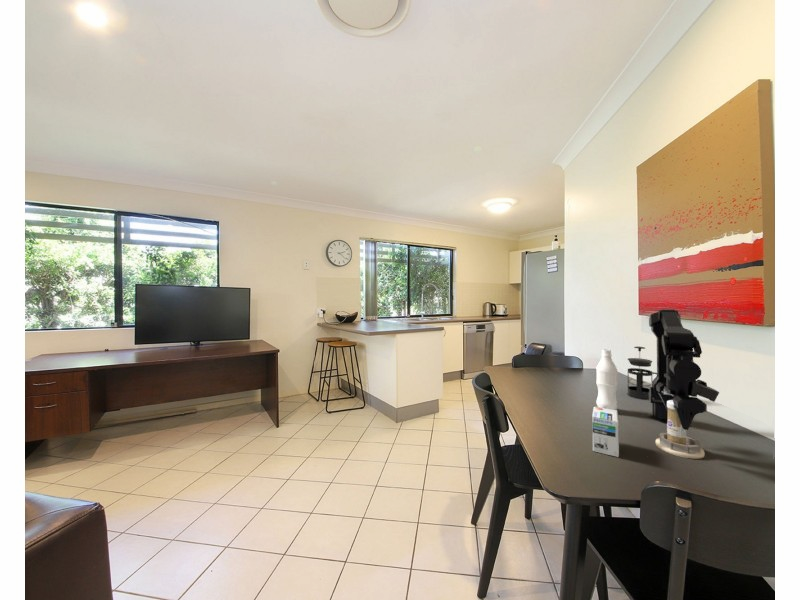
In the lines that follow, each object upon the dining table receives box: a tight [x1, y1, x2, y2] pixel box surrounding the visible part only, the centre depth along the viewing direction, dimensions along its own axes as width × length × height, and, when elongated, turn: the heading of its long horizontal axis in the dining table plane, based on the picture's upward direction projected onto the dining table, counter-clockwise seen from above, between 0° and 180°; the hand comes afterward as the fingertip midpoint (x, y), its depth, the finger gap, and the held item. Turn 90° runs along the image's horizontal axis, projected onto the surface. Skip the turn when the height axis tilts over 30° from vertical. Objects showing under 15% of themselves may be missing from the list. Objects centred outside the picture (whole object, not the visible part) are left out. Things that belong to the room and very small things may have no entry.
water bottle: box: [595, 348, 619, 411], centre depth 123 cm, size 7×7×25 cm
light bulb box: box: [591, 406, 620, 458], centre depth 95 cm, size 11×7×11 cm, turn 145°
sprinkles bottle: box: [666, 400, 687, 445], centre depth 93 cm, size 5×5×13 cm
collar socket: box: [655, 432, 706, 460], centre depth 93 cm, size 11×11×3 cm
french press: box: [627, 346, 657, 401], centre depth 139 cm, size 12×9×23 cm
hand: (679, 423), depth 93 cm, fingers open, 9 cm apart
